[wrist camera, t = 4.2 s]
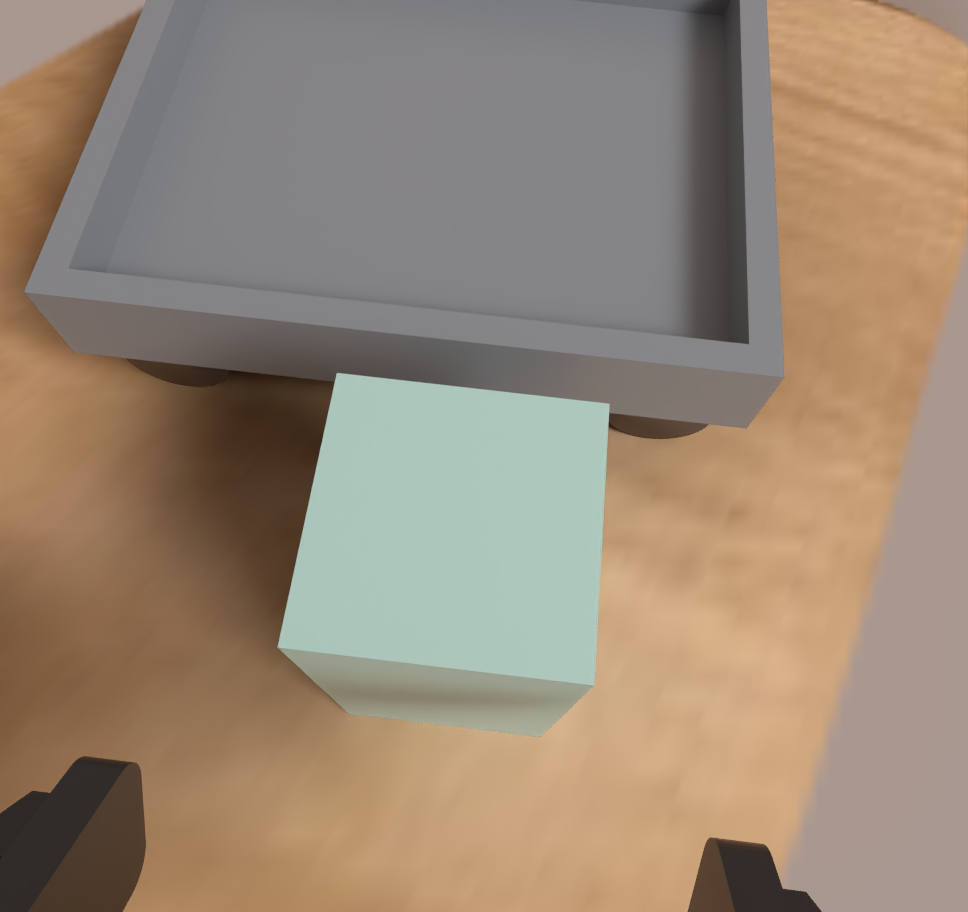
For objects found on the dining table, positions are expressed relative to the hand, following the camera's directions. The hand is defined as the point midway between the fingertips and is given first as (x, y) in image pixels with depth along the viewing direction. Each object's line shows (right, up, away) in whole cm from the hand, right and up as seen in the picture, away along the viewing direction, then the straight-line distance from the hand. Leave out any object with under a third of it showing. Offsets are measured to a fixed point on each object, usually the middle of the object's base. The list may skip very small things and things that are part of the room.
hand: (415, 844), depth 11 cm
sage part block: (0, +1, +11) cm, 11 cm away
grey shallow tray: (0, +13, +16) cm, 20 cm away
